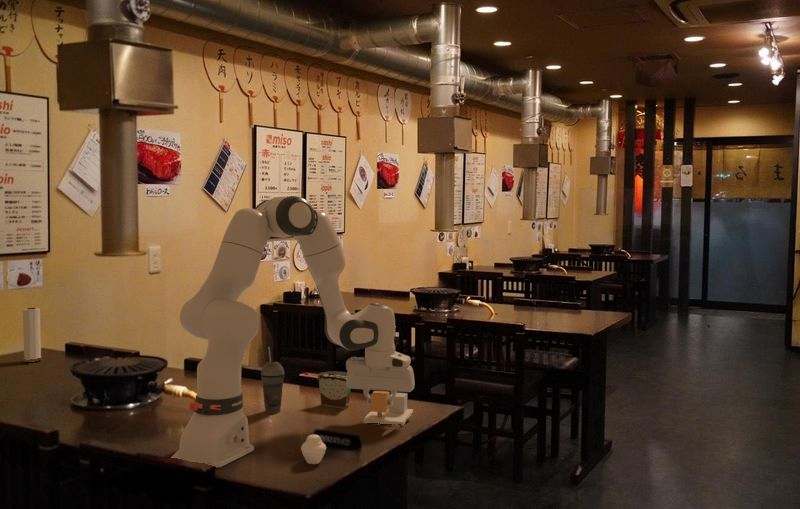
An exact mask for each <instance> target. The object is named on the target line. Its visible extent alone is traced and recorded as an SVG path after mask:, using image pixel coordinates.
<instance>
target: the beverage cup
mask: <svg viewBox="0 0 800 509" xmlns="http://www.w3.org/2000/svg"><path fill="white" fill-rule="evenodd" d="M267 350H268V358H269V361H268V362H266V363H265V364H264V365H263V366H262V368H261V371H260V372H261V373H260V377H261V382H262V392H263V403H264V411H265V413H266V414H270V415H271V414H273V415H274V414H279V413H280V412H281V407H282V398H283V386H284V381H285V380H284V379H285V375H286V374H285V370H284V367H283V366H282V364H281V363H280V362H278V361H274V360H272V355H271V354H272V353H271V347H270V346H268V347H267Z"/></svg>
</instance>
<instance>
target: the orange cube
mask: <svg viewBox="0 0 800 509" xmlns="http://www.w3.org/2000/svg"><path fill="white" fill-rule="evenodd" d="M389 396H390V391H383V390H373V392H372V393H370V397H371V404H370V412H385V413H386V412H387V411H388V409H389V406H387V399H388V398H389ZM370 412H369V413H370Z"/></svg>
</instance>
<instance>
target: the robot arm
mask: <svg viewBox="0 0 800 509" xmlns="http://www.w3.org/2000/svg"><path fill="white" fill-rule="evenodd" d="M292 237H293V238H294V239H295V240H296V241H297V243H298V244H299V247H300V250H301V252H302V255H303V259H304V262H305V264H306V266H307V269H308V270H309V272H310V274H311V277H312V278H313V281H314V284H315V286H316V289H317V293H318V297H319V300H320V302H321V306H322V309H323V311H324V312H323V313H324V328H323V330H324V334H325V336H326V338H327V340H328V341H329V342H330V343H333V344H334V345H337V346H340V347H341V348H344V349H345V350H348V351H359V350H363V349H365V351H364V357H362V356H360V357H356V356H351V357H349V358H348V359H347V360H346V361H345V369H346V370H347V371H346V373H347V377H346V386H347V387H348V388H350V390H351V389H353V390H354V389H355V390H363V392H362V393H363V395H364V397H365V399H366V405H371V394H370V393H369V392H370V391H384V392H390V395H392V394H393V395H392V397H391V398H390V399H389V398H388V399H387V406H392V405H393V399H394V397H395V395H396V394H397V393H398V392H399V393H411V392H412V391H413V390H414V389H415V373H414V369H413V367H412V366H411V365H410V364H411V362H412V359H411V357H410V356H409V355H406V354H404V353H401V352H398V351H396V345H395V337H396V336H395V335H396V318H395V313H394V312H395V311H394V309H393V308H392V307H391V306H389V305H387V304H383V303H377V302H376V303H375V302H372V303H371V302H370V303H368V304H367V305H366V306H365V307H364V308H363V309H361V310H359V311H358V312H355V313H354V314H352V313H350V312H349V310H348V309H347V308H346V306H345V303H344V302H345V301H344V299H343V296H342V292H341V290H340V289H341V288H340V285H339V278H340V275H341V274H342V273H343V271H344V269H345V266H346V260H345V254H344V250H343V247H342V244H341V241H340V237H339V236H338V233H337V231H336V229H335V227H334V225H333V223H332V221H331V219H330V218H329V216H328V215H327V213H325V212H324V211H322V210H316V209H314V208H313V206H312V205H311V203H310V202H309V201H308V200H306V199H305V198H303V197H300V196H296V195H289V196H277V197H274V198H269V199H265V200H263V201H261V202H260V203H259V204H257V205H256V206H255V208H249V207H247V208H246V207H245V208H241V209H239V210H237V211H236V212H235V213H234V214H233V216H232V218H231V220H230V222H229V223H228V226H227V228H226V230H225V232H224V234H223V237H222V240H221V243H220V246H219V249H218V252H217V255H216V257H215V261H214V263H213V266H212V268H211V271H210V272H209V274H208V275H207V278H206V279H205V281H204V283H203V284H202V285H201V287H200V288H199V290H198V291H197V292H196V294H194V296H193V297H192V298H190V299H188V300H187V301H186V302H185V303H184V304H183V306H182V307H181V309H180V313H179V321H180V325H181V327H182V328H183V329H184V330H185V331H186V332H187V333H189V334H190V335H192V336H194V337H195V338H198V339H204V340H207V341H208V344H207V349H206V352H205V356H204V357H203V359H201V360H200V361H199V363H197V368H196V383H197V384H196V386H197V387H196V388H197V389H196V393H197V394H196V395H195V397H194V398H195V399H194V401H190V402H189V404H188V409H189V410H190V411H193V414H192V415H191V417H190V419H189V421H188V423H187V425H185V426H186V427H185V428H184V430H183V431H182V434H180V439H179V449H178V450H177V451H176V452H175V453H174V454H172V456H171V457H170V458H178V459H183V460H187V461H190V462H198V463H205V464H208V465H212V466H215V467H216V469H217V468H218V469H219V468H222V467H224V466H226V465H228V464H230V463H232V462H234V461H235V460H238V459H239V458H242V457H244V456H246V455H247V454H249V453H252V452H254V451H255V447H254V445H253V444H251V443H250V432H249V430H250V429H249V422H248V421H249V420H248V417H247V416H246V414H245V413H244V411H243V407H244V396H243V392H242V367H243V366H242V365H243V360H244V356H245V352H246V350H247V348H248V345H249V344H250V342H252V341H253V340H254V338H255V337H256V336H257V334H258V332H259V329H260V318H259V314H258V312H257V311H256V310H255V309H254V307H251V306H250V305H247V304H246V303H243V302H242V301H239V300H238V299H239V298H240V296H241V295H242V293H243V292H245V290H246V289H248V288H250V287H251V286H252V285H253V283H254V282H255V279H256V277H257V272H258V270H259V266H260V264H261V260H262V258H263V255H264V251H265V247H266V244H267V243H268V240H270V239H273V238H280V239H281V238H282V239H285V238H286V239H287V238H292ZM237 300H238V301H237Z"/></svg>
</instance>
